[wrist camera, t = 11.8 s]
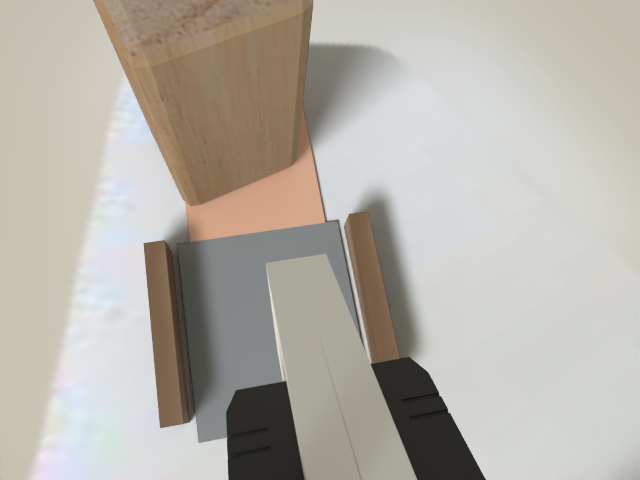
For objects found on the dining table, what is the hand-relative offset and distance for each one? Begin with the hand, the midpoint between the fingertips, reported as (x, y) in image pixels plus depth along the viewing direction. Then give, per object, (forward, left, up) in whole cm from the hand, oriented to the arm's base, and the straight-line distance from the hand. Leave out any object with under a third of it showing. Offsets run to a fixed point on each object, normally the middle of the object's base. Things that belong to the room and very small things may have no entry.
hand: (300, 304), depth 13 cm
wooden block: (+2, -20, -28) cm, 34 cm away
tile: (0, -17, -28) cm, 33 cm away
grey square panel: (0, -4, -28) cm, 28 cm away
